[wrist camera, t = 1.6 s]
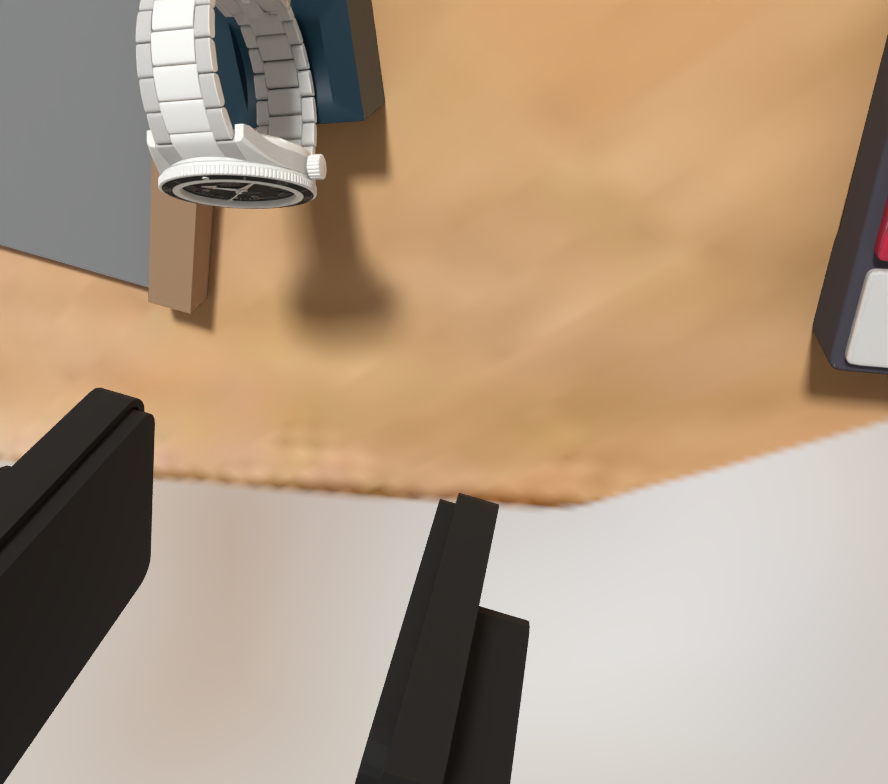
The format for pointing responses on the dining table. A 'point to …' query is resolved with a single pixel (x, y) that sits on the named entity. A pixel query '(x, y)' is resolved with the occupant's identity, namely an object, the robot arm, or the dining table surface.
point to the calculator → (861, 255)
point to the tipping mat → (90, 153)
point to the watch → (251, 93)
